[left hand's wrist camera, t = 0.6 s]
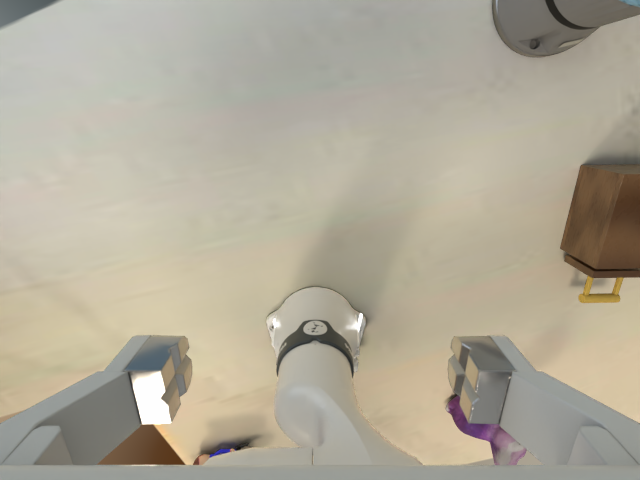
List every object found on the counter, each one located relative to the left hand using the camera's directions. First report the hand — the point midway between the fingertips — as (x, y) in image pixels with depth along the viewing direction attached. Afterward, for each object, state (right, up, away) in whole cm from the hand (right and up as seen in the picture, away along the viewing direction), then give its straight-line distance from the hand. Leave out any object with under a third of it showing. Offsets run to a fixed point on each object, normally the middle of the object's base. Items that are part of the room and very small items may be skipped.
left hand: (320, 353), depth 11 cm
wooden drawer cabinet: (+47, +9, +47) cm, 67 cm away
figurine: (+32, -30, +62) cm, 76 cm away
